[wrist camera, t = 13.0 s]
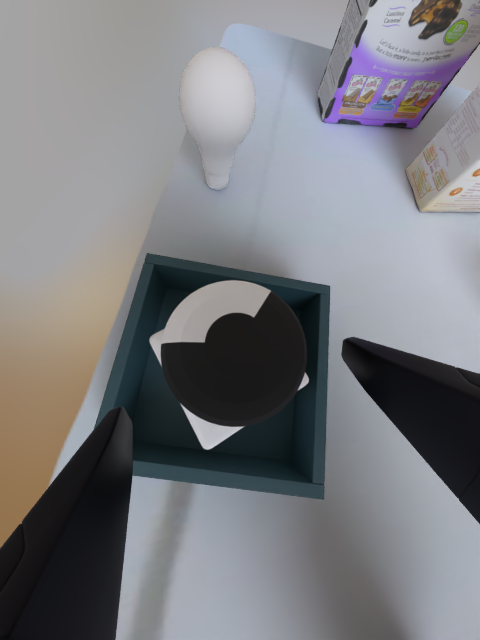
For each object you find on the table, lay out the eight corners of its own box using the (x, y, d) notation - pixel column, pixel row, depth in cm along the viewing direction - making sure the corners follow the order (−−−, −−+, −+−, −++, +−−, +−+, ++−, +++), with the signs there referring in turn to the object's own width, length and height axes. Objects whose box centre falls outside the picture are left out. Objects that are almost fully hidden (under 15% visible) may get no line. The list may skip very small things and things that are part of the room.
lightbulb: (201, 158, 27) (192, 15, 17) (250, 175, 27) (272, 43, 17) (181, 197, 26) (158, 64, 15) (234, 215, 26) (247, 95, 15)
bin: (296, 472, 19) (324, 499, 14) (116, 448, 18) (81, 469, 13) (307, 306, 23) (330, 285, 19) (161, 281, 23) (146, 252, 18)
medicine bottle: (280, 384, 20) (364, 377, 9) (208, 430, 19) (197, 496, 7) (239, 316, 22) (266, 235, 10) (169, 354, 20) (108, 308, 9)
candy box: (405, 101, 34) (565, -141, 19) (415, 130, 33) (600, -109, 17) (315, 93, 33) (407, -178, 17) (321, 123, 31) (430, -147, 15)
